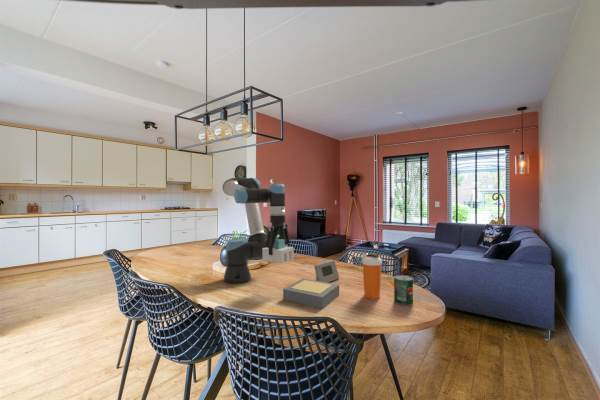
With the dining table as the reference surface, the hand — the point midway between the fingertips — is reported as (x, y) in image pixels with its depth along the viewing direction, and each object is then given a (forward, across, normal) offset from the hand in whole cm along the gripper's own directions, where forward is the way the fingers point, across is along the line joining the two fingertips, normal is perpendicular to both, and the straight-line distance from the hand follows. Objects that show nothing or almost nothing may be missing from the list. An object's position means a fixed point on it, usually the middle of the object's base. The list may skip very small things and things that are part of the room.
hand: (278, 259), depth 136 cm
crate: (-6, 0, 0) cm, 6 cm away
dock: (+16, 0, -19) cm, 25 cm away
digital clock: (+16, +25, -15) cm, 33 cm away
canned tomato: (+16, +16, -57) cm, 61 cm away
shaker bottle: (+16, +16, -43) cm, 48 cm away
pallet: (0, 0, 0) cm, 0 cm away
